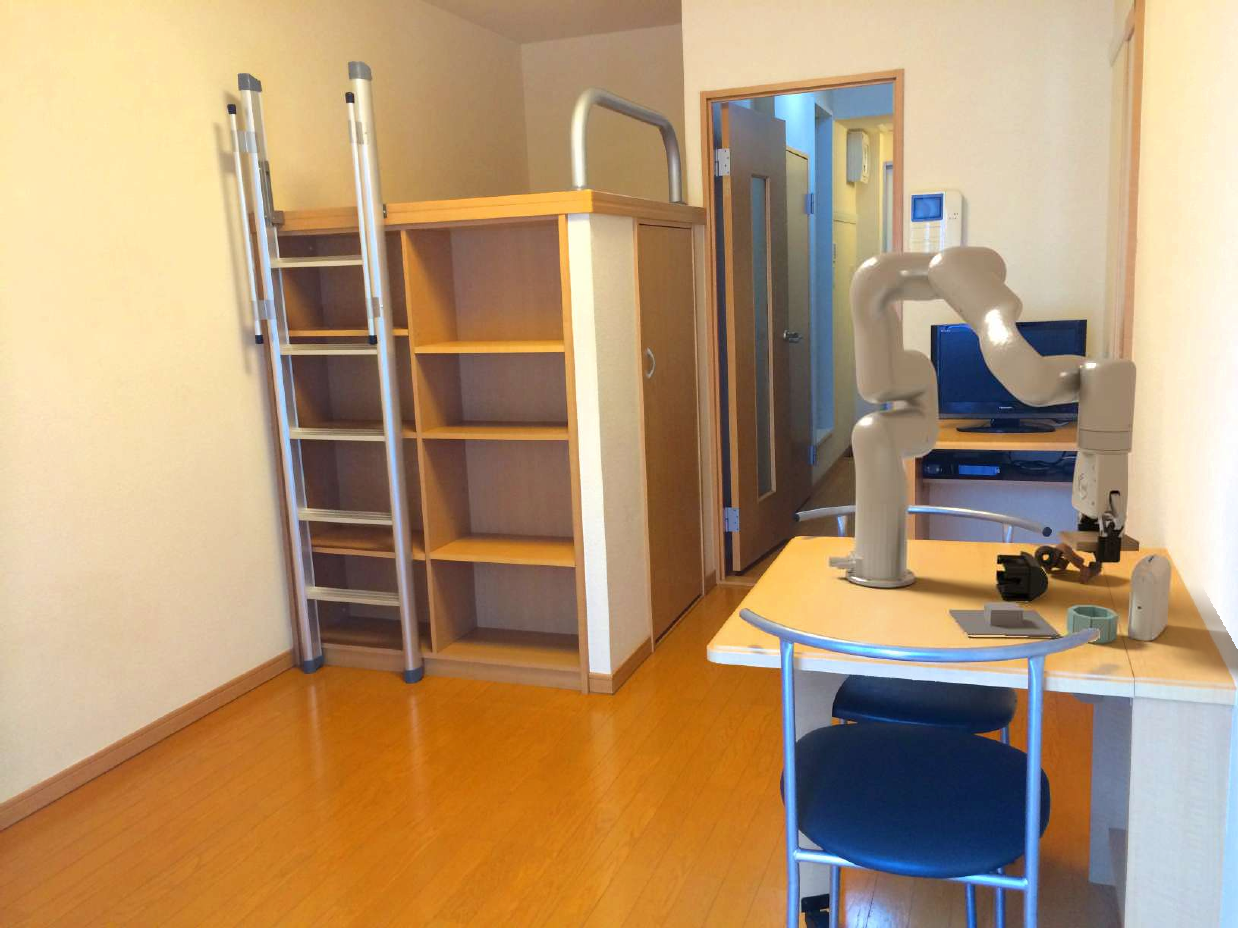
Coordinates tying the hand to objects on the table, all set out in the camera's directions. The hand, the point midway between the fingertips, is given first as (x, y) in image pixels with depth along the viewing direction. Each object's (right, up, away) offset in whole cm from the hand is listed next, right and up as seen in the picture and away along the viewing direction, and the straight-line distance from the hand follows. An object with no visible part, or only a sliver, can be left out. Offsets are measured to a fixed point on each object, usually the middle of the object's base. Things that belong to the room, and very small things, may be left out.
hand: (1097, 554), depth 156 cm
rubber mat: (-11, -12, +8) cm, 19 cm away
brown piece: (+10, -7, +35) cm, 37 cm away
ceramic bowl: (0, -13, +2) cm, 13 cm away
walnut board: (0, +1, 0) cm, 1 cm away
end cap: (-2, -10, +24) cm, 26 cm away
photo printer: (+10, -13, +4) cm, 17 cm away
